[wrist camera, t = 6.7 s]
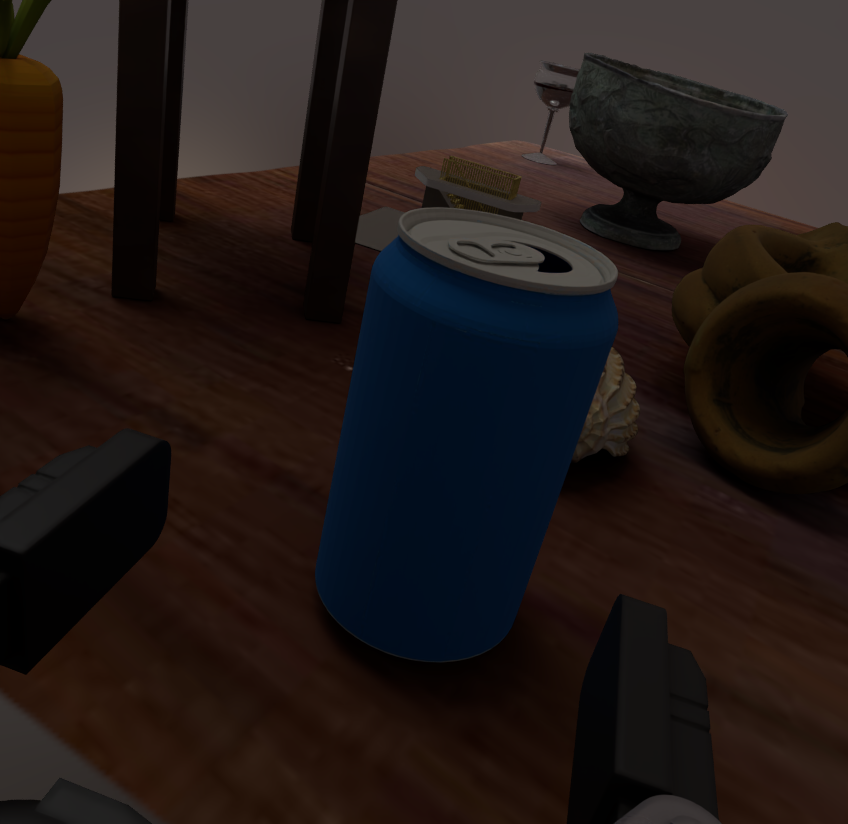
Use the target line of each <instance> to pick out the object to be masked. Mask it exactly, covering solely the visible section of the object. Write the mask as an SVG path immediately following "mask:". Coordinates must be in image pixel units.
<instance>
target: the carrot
mask: <svg viewBox="0 0 848 824" xmlns="http://www.w3.org/2000/svg"><path fill="white" fill-rule="evenodd" d="M50 1H51V0H22V3H21V5H20V8H19V10H18V13H17V15H16V17H15V19H14V10H13V4H12V0H0V317H1V318H2V319H5V320H7V319H10V318H11V317H12V316H14V315H15V314H16V313H18V311H19V310H20V308H21V306H22V304H23V302H24V301H25V299H26V297H27V295H28V293H29V292H30V290H31V288H32V286H33V284H34V283H35V281H36V278H37V276H38V273H39V271H40V268H41V266H42V263H43V261H44V258H45V256H46V253H47V249H48V245H49V240H50V236H51V231H52V227H53V222H54V217H55V211H56V205H57V200H58V194H59V187H60V171H61V152H62V120H63V94H62V88H61V84H60V81H59V78H58V77H57V76H56V75H55V74H54V73H53V72H52V70H51V69H50V68H48V67H47V66H45V65H44V64H42V63H40V62H38V61H36V60H33V59H30V58H28V57H25V56H22V55H20V54H19V53H20V51H21V49H22V48H23V46H24V44H25V42H26V41H27V39H28V37H29V35H30V34H31V32H32V30H33V28H34V27H35V25H36V23H37V22H38V20H39V18H40V17H41V15H42V13H43V12H44V10H45V8H46V7H47V5H48V4H49V3H50Z"/></svg>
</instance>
